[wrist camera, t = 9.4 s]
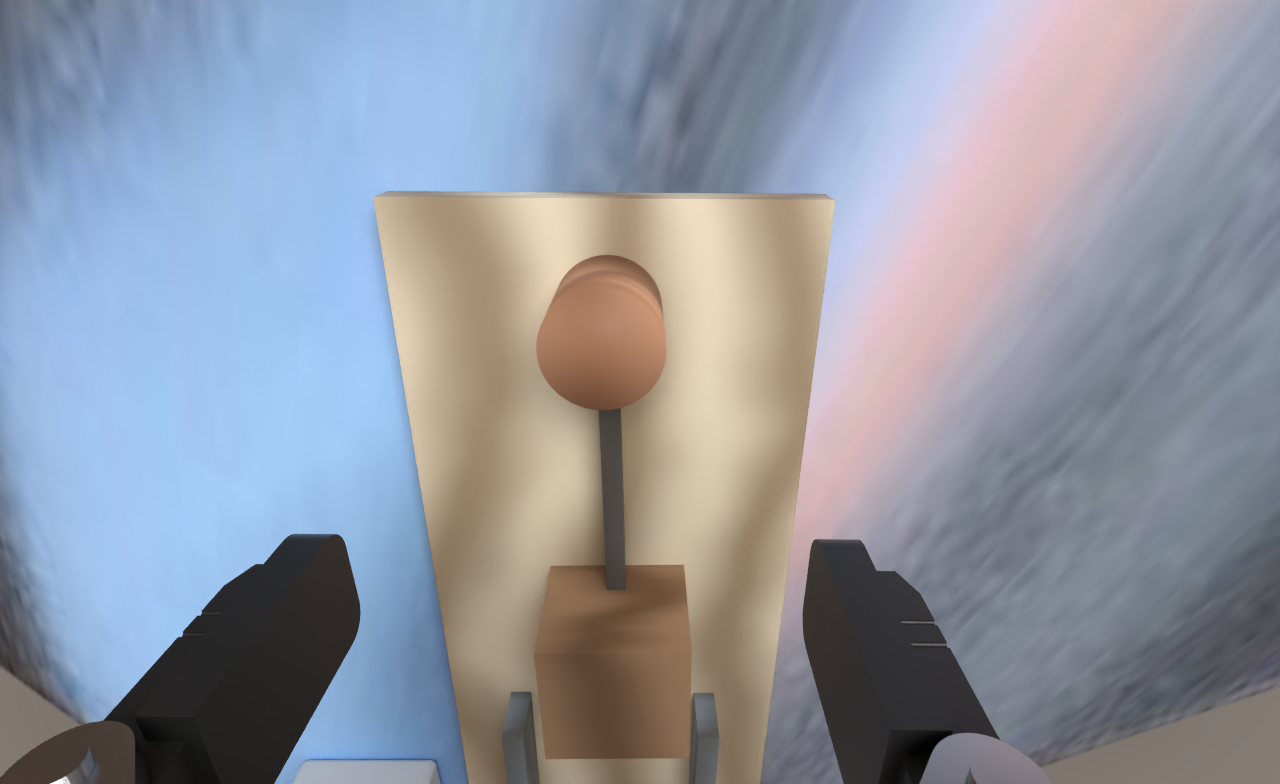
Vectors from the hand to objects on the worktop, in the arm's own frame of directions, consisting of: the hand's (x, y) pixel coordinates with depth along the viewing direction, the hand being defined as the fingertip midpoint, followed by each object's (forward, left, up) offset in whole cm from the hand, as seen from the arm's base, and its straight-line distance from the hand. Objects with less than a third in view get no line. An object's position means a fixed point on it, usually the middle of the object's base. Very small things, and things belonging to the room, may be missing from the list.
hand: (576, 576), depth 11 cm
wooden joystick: (0, +7, -14) cm, 16 cm away
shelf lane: (0, +14, -16) cm, 21 cm away
